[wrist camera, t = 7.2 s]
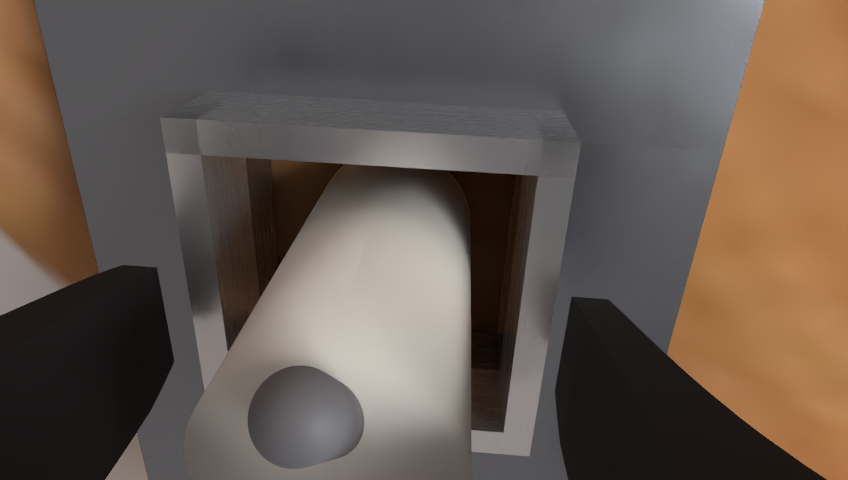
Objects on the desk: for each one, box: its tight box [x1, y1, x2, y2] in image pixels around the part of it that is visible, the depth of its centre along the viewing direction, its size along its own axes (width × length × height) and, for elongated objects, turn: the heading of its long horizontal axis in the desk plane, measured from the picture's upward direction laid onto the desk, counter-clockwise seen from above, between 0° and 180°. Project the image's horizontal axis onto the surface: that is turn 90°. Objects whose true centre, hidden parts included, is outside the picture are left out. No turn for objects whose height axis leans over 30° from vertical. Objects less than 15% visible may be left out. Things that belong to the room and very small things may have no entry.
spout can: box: [184, 164, 472, 480], centre depth 10 cm, size 4×4×9 cm
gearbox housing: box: [34, 0, 765, 480], centre depth 12 cm, size 18×13×4 cm
